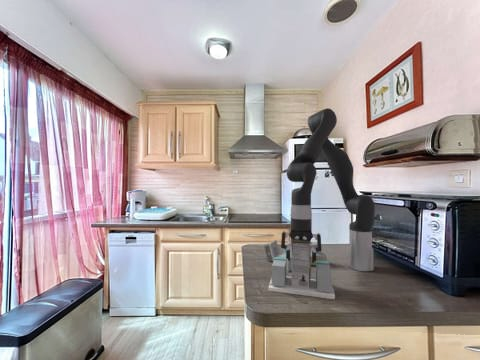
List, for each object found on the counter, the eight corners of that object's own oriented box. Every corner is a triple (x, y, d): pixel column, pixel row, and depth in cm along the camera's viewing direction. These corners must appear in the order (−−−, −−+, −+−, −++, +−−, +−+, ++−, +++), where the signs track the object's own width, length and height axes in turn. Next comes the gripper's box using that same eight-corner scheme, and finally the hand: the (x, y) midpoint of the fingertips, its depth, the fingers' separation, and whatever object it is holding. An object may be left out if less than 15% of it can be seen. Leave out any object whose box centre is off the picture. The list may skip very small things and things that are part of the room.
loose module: (295, 268, 107) (295, 253, 107) (287, 272, 102) (288, 257, 102) (286, 265, 110) (286, 251, 110) (278, 269, 105) (278, 254, 105)
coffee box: (293, 276, 92) (293, 235, 92) (310, 279, 90) (310, 236, 90) (291, 286, 83) (291, 240, 83) (310, 289, 81) (310, 242, 81)
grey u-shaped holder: (330, 284, 89) (330, 260, 89) (334, 299, 78) (334, 271, 78) (272, 277, 95) (273, 255, 95) (268, 290, 83) (268, 264, 84)
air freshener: (304, 266, 109) (304, 244, 109) (301, 260, 117) (301, 240, 118) (328, 267, 108) (328, 245, 108) (324, 261, 116) (324, 241, 116)
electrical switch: (274, 263, 113) (273, 243, 113) (264, 262, 115) (263, 243, 116) (281, 258, 121) (279, 240, 122) (271, 257, 123) (270, 239, 124)
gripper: (320, 216, 89) (320, 259, 88) (282, 214, 92) (282, 256, 92) (322, 219, 81) (322, 266, 81) (280, 217, 85) (280, 262, 85)
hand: (300, 261), depth 86 cm, fingers open, 8 cm apart
